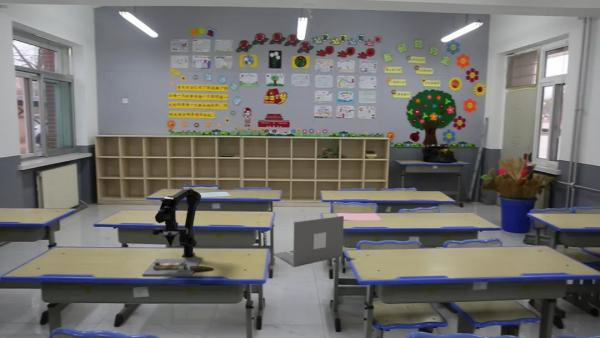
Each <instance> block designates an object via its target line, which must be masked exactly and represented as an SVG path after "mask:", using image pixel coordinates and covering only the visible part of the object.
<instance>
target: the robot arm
mask: <svg viewBox="0 0 600 338" xmlns="http://www.w3.org/2000/svg"><path fill="white" fill-rule="evenodd" d="M185 198H186V201H185V202H186V204H187V211H186V217H185V223H184V227H180V228H179V222H178V221H177V214H176V211H177V210H178V207H177V206H178V205H179V203H180V202H181V201H182V200H184V199H185ZM201 200H202V195H201V194H200V192H198V191H196V190H194V189H193V188H191V187H183V188H182V189H181V190H180V191H178V192H176V193H175V194H173V195H167V196H165V197H164V198H163V199H162V201H161V204H160V207H159V209H158V211H157V213H156V214H155V216H154V219H155V222H157V223H158V224H162V223H164V224H165V225H164V228H163V227H155V228H154V229H153V230H152V235H155V236H158V235H159V234H160V233H162V234H163V235H162V237H165V239H166V240H167V243H168V244H169V246H170V247H173V244H174V240H175V237H177V236H178V235H179V237H178V241H179V246H180V247H183V254H182V255H181V257H182V258H193V257H194V255H196V253H195V252H194V248H195V247H197V245H198V244H197V243H198V241H197V240H196V239H195V233H194V231H193V228H194V224H195V222H194V221H195V218H196V211H197V207H198V206H199V205H200V202H201Z"/></svg>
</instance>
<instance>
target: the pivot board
mask: <svg viewBox="0 0 600 338" xmlns="http://www.w3.org/2000/svg"><path fill="white" fill-rule="evenodd" d="M201 260H202V258H156V259H154V260H153V262H152V263H151V264H150V265H149V266H148V268H146V269H145V271H143V273H142V277H192V276H193V275H194V273H195V272H196V270H192V269H190V266H199V264H200V262H201ZM155 262H159V263H180V262H186V263H187V267H186V268H184V271H178V268H171V269H153V264H154V263H155Z"/></svg>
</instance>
